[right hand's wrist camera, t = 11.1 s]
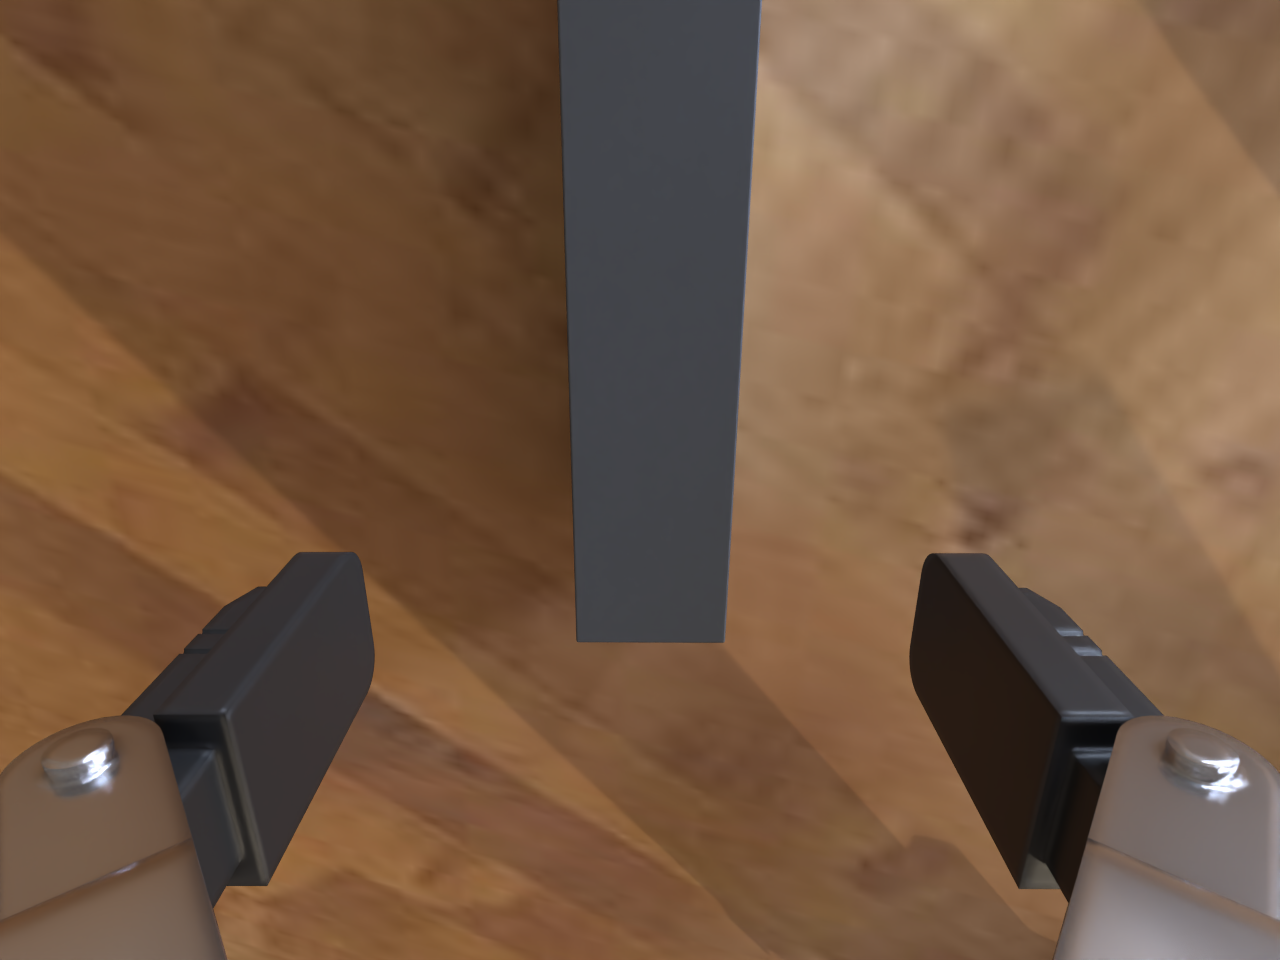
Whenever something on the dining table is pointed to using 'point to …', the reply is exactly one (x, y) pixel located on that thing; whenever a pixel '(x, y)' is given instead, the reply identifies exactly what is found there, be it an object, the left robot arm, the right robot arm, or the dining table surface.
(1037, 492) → the dining table surface
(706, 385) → the bar
